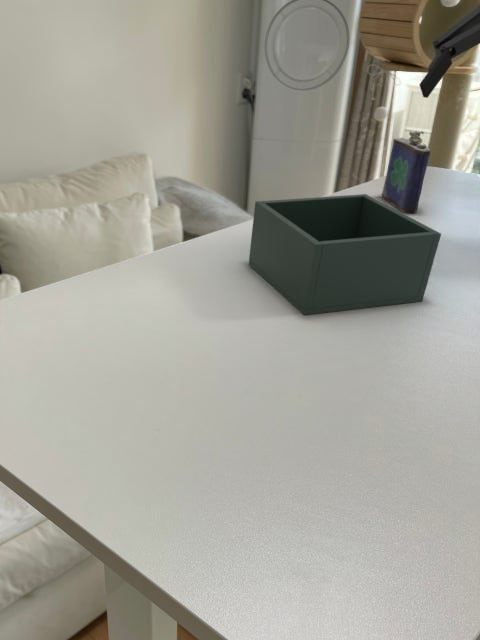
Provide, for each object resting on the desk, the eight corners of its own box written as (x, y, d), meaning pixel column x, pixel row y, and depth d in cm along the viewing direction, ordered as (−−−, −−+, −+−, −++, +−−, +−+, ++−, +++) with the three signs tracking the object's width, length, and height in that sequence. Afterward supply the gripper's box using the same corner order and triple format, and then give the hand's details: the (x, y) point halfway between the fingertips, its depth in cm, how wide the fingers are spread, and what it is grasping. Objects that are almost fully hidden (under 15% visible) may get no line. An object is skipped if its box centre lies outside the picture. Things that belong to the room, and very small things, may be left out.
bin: (353, 254, 83) (365, 193, 79) (422, 301, 72) (441, 233, 67) (248, 264, 79) (255, 201, 75) (303, 315, 68) (315, 244, 64)
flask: (378, 196, 105) (394, 124, 99) (395, 196, 105) (412, 124, 99) (404, 214, 98) (422, 137, 91) (422, 213, 98) (442, 137, 92)
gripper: (468, -45, 102) (387, 68, 103) (638, -43, 86) (540, 91, 87) (476, -5, 108) (399, 102, 109) (637, 4, 92) (545, 129, 93)
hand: (461, 98), depth 98 cm, fingers open, 13 cm apart
